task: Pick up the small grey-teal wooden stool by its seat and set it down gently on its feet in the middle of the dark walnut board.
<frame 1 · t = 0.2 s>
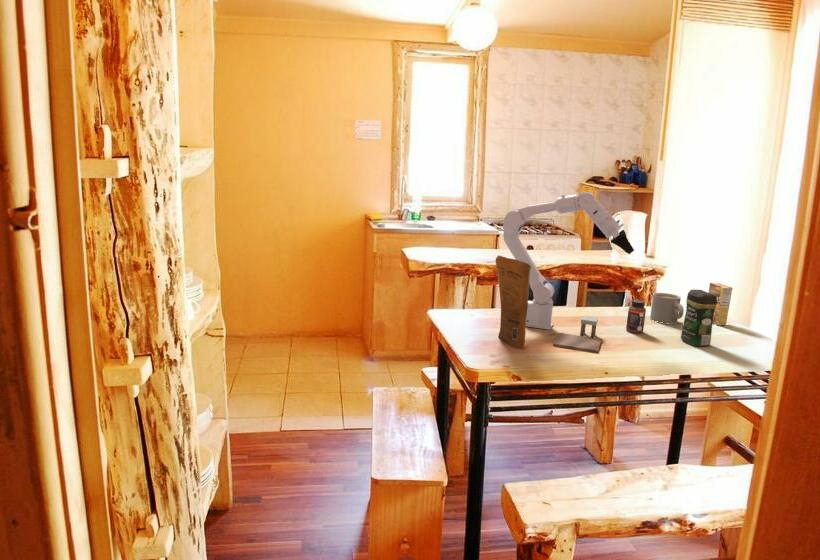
hand: (631, 251, 208), 31 cm above the table, tool tilted 45°, fingers open, 7 cm apart
stool: (587, 335, 214), on the table
coffee jar: (694, 343, 212), on the table
pancake mix bag: (509, 342, 202), on the table
coffee mug: (665, 322, 239), on the table
supplement bottle: (634, 331, 223), on the table
walnut board: (577, 343, 204), on the table
candy box: (714, 323, 241), on the table
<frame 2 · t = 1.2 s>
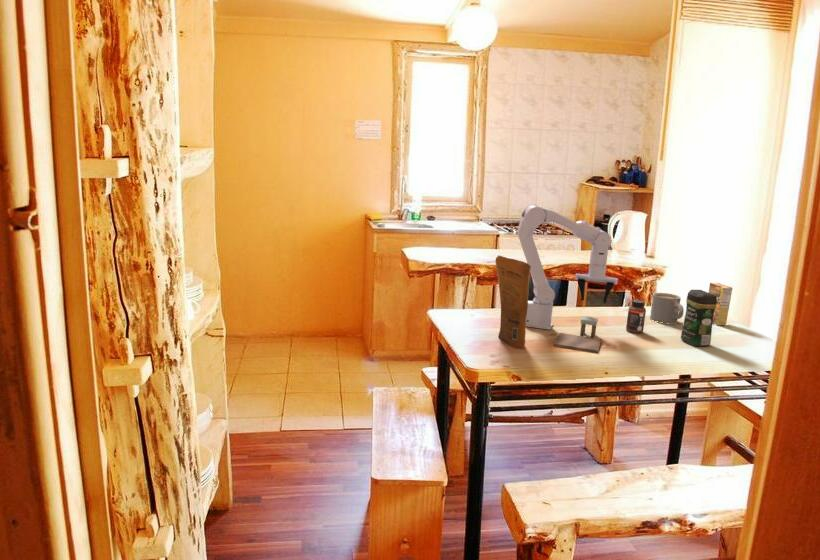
hand: (593, 301, 220), 10 cm above the table, tool pointing down, fingers open, 7 cm apart
nothing on the table moved.
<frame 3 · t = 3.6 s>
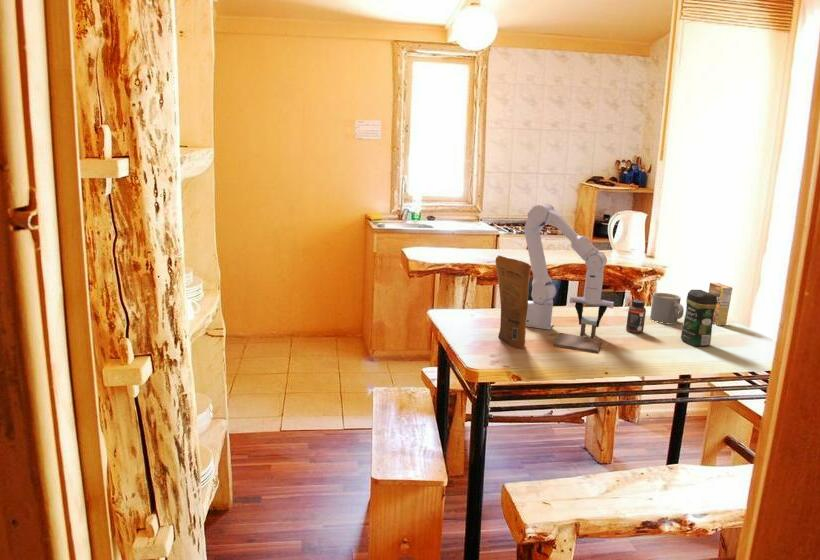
hand: (588, 325, 214), 4 cm above the table, tool pointing down, fingers closed on stool, 5 cm apart
stool: (587, 335, 214), on the table, touching gripper
everything else where it was.
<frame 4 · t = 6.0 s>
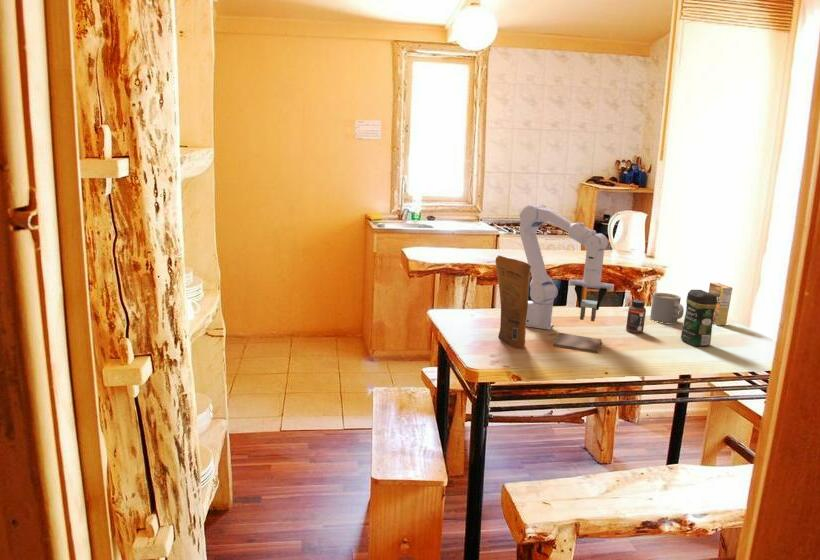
hand: (588, 308, 209), 10 cm above the table, tool pointing down, fingers closed on stool, 5 cm apart
stool: (587, 318, 210), point 7 cm above the table, touching gripper
everything else where it was.
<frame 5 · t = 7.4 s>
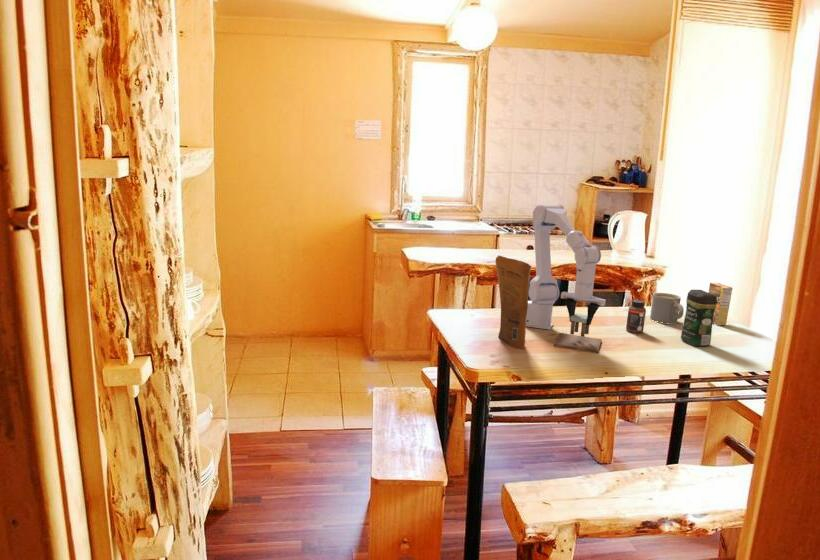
hand: (580, 322, 203), 7 cm above the table, tool pointing down, fingers closed on stool, 5 cm apart
stool: (579, 333, 203), point 3 cm above the table, touching gripper
everything else where it was.
when the fingers open (6 cm above the table, at t = 8.6 s): stool drops 1 cm, resting on walnut board.
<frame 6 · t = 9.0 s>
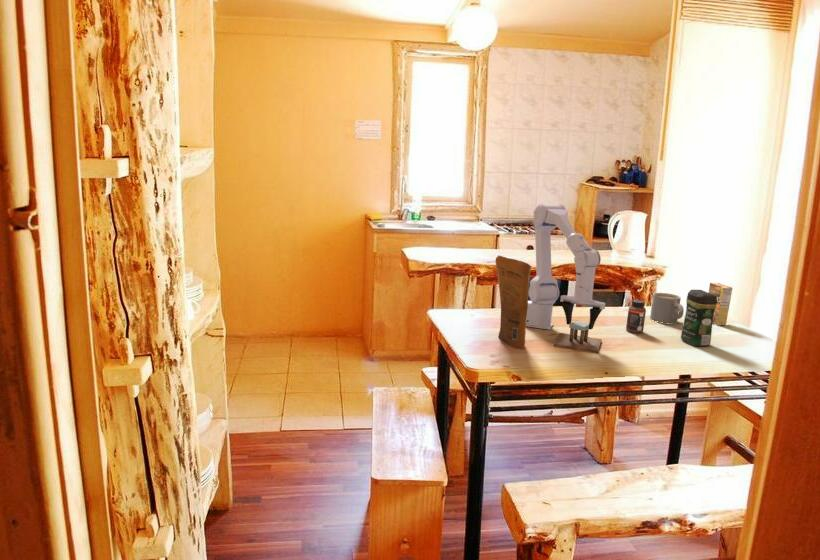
hand: (579, 326, 203), 6 cm above the table, tool pointing down, fingers open, 7 cm apart
stool: (578, 341, 204), point 1 cm above the table, touching walnut board
everything else where it was.
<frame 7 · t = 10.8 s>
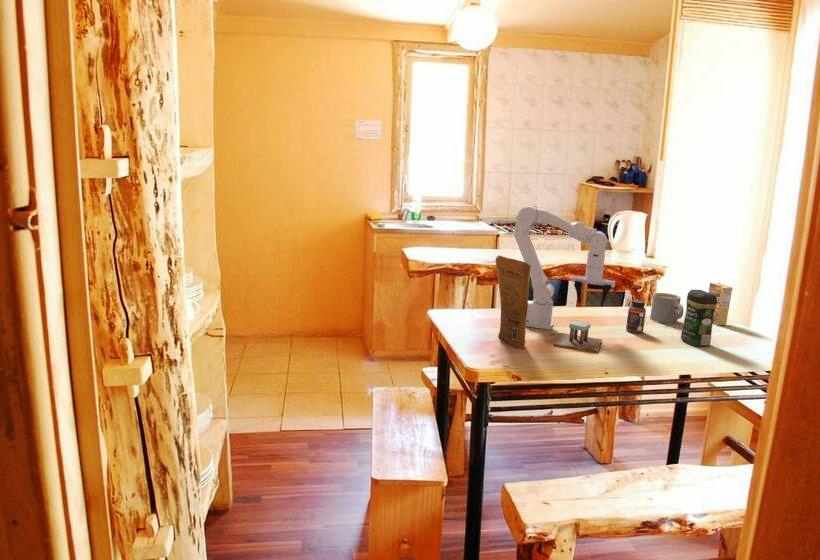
hand: (590, 304, 215), 10 cm above the table, tool pointing down, fingers open, 7 cm apart
nothing on the table moved.
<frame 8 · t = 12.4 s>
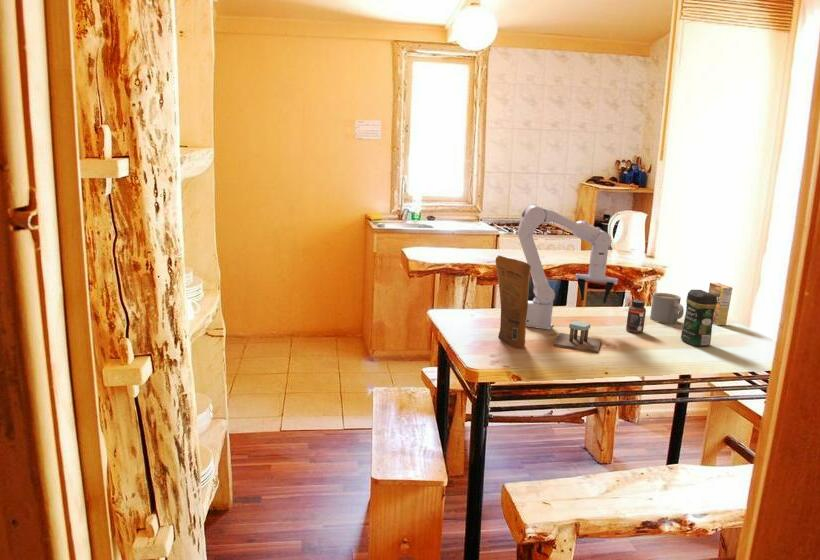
hand: (593, 301, 220), 10 cm above the table, tool pointing down, fingers open, 7 cm apart
nothing on the table moved.
at the end: stool inside the target area on the walnut board (0.2 cm from its centre), point 0.8 cm above the walnut board's base; stool tilted 0°; the gripper is holding nothing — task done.
